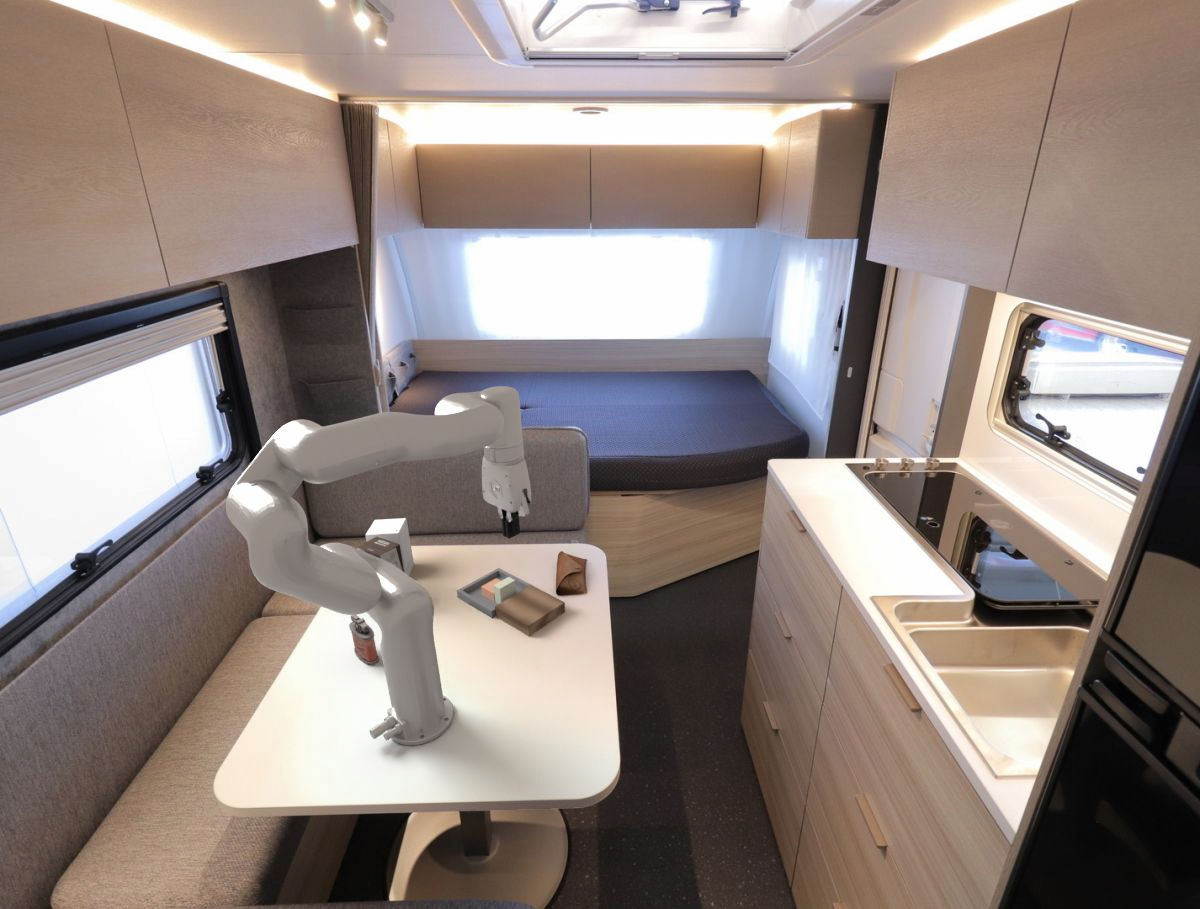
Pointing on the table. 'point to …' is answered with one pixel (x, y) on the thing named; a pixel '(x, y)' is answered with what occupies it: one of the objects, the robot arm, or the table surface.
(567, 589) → the sunglasses case
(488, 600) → the tray
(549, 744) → the table surface
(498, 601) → the pale green rectangular block
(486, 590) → the tile
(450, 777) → the table surface
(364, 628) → the lighter
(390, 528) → the supplement box
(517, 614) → the brown square slab
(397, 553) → the coffee box
